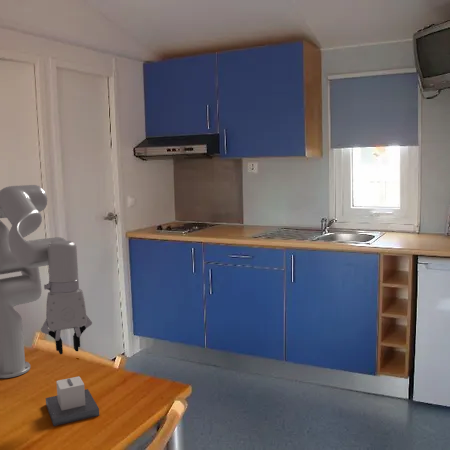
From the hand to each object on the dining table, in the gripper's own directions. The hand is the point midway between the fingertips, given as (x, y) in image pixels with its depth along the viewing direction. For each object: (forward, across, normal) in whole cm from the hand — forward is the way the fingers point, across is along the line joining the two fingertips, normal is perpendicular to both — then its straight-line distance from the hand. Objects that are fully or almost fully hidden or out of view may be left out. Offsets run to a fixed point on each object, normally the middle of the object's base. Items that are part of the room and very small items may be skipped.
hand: (68, 350), depth 144 cm
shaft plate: (+17, 0, 0) cm, 17 cm away
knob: (+15, 0, 0) cm, 15 cm away
